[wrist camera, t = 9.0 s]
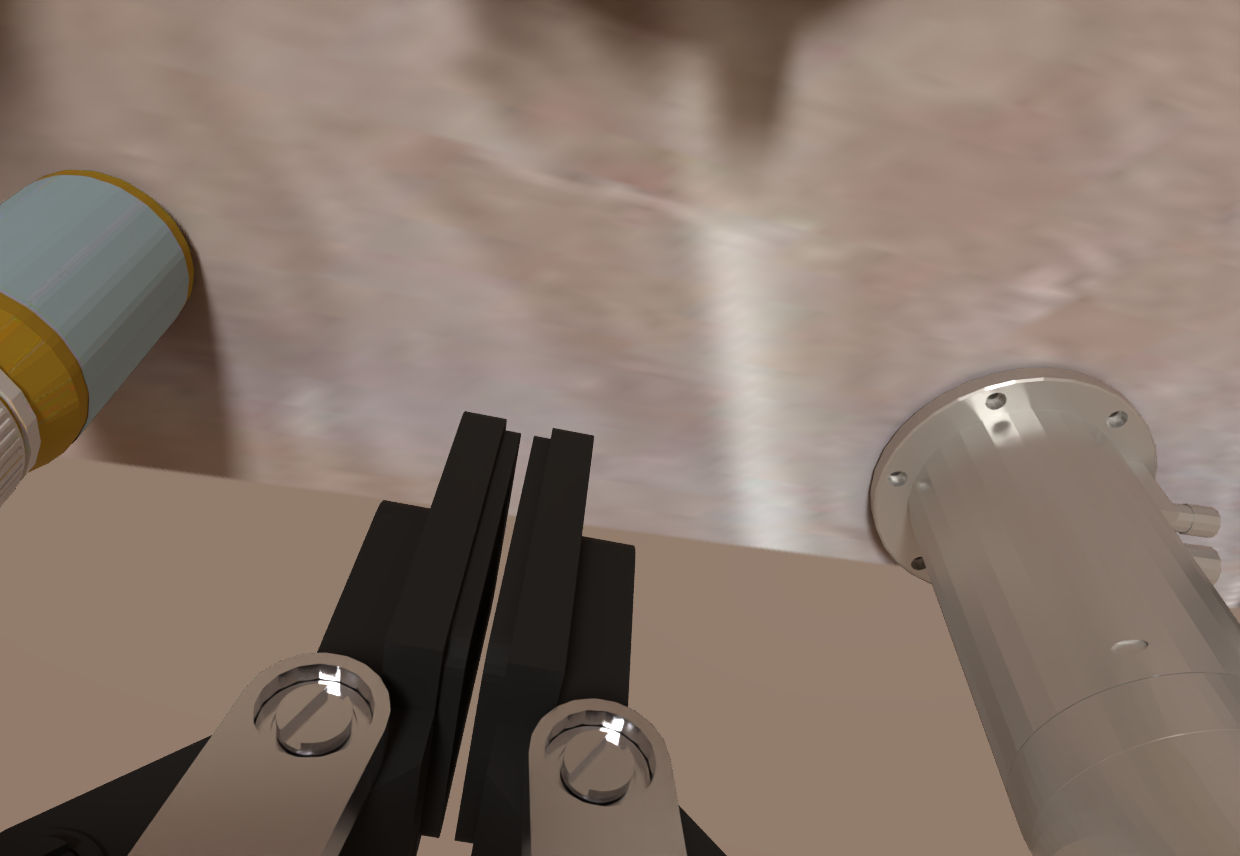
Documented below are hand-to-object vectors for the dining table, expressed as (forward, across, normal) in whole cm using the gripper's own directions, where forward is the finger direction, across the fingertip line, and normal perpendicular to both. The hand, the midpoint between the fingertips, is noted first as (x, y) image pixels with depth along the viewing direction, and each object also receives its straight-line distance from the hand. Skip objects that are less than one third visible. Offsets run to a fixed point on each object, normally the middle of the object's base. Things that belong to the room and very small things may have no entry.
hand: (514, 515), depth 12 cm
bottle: (+26, +19, +11) cm, 34 cm away
